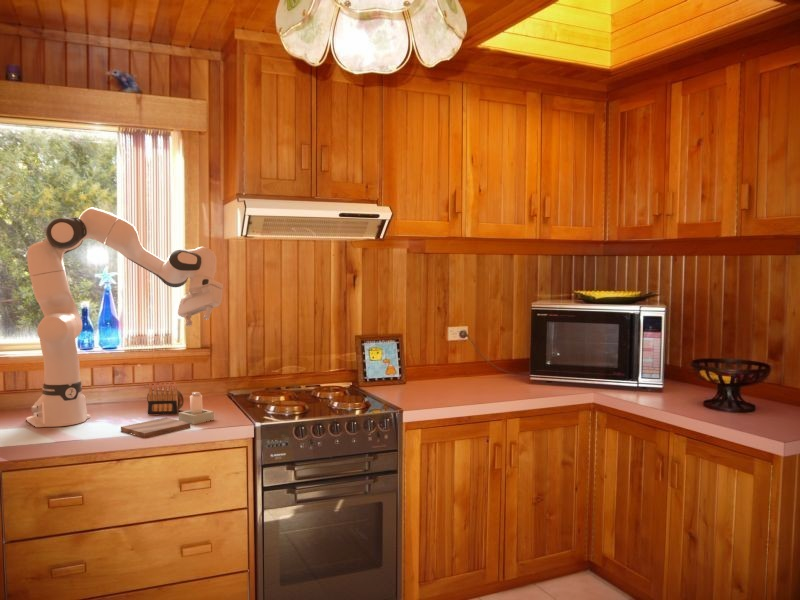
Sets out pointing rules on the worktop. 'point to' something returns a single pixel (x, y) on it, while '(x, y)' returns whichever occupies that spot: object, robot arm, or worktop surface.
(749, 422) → the worktop surface
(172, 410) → the ammunition clip
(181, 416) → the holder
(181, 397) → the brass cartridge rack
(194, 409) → the pepper mill
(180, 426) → the cutting board
